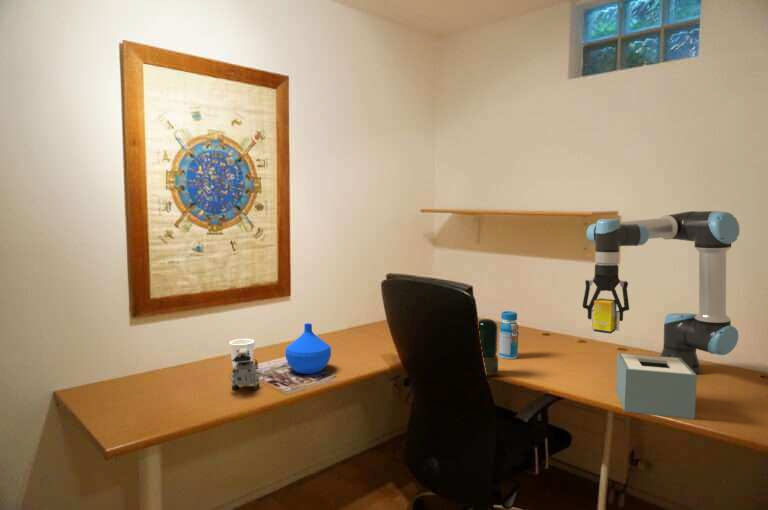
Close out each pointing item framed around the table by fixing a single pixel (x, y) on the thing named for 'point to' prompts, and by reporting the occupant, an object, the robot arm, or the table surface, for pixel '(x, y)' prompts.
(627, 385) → the box
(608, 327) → the supplement box
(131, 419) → the table surface
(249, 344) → the foam cup
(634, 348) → the table surface
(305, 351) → the vase
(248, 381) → the figurine
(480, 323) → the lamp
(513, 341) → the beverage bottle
